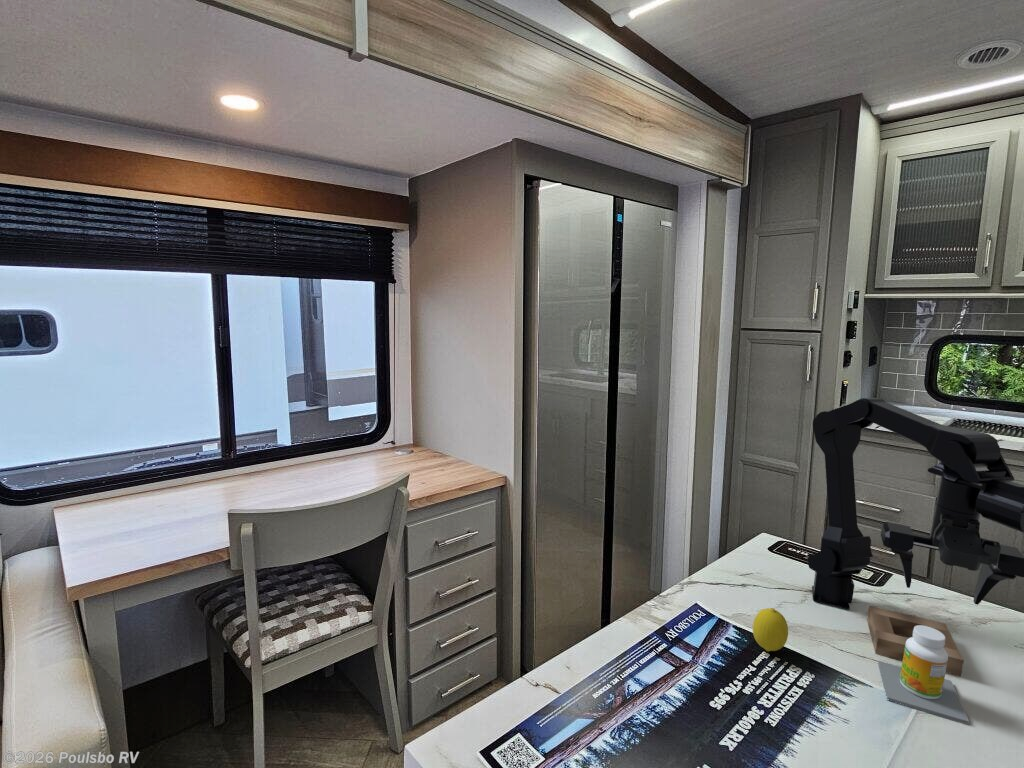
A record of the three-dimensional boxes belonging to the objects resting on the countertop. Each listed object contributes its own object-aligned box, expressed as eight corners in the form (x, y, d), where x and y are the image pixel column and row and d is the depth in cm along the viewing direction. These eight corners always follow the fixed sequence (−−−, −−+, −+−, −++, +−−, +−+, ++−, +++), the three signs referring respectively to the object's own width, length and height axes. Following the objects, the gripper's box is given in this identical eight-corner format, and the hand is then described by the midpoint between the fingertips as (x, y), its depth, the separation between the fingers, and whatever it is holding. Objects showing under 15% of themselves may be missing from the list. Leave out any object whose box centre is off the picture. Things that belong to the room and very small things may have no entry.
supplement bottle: (890, 677, 89) (899, 622, 88) (921, 676, 90) (930, 622, 88) (917, 701, 84) (927, 643, 82) (950, 700, 84) (960, 642, 83)
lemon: (782, 645, 97) (787, 603, 96) (787, 664, 92) (792, 620, 91) (749, 638, 99) (753, 597, 98) (751, 656, 94) (756, 613, 93)
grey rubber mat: (887, 700, 84) (887, 697, 84) (877, 663, 93) (878, 660, 93) (968, 724, 80) (969, 721, 80) (950, 683, 89) (951, 680, 89)
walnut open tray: (875, 653, 96) (877, 637, 96) (866, 619, 107) (869, 605, 106) (960, 676, 91) (963, 660, 90) (942, 638, 101) (945, 623, 101)
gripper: (895, 510, 87) (880, 600, 89) (1052, 540, 78) (1030, 639, 81) (887, 489, 96) (873, 571, 99) (1026, 514, 88) (1007, 603, 90)
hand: (941, 594), depth 92 cm, fingers open, 9 cm apart
